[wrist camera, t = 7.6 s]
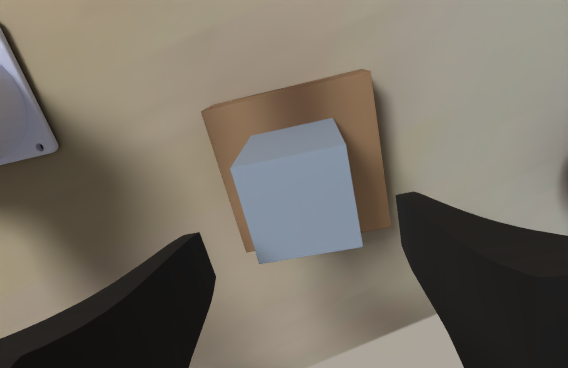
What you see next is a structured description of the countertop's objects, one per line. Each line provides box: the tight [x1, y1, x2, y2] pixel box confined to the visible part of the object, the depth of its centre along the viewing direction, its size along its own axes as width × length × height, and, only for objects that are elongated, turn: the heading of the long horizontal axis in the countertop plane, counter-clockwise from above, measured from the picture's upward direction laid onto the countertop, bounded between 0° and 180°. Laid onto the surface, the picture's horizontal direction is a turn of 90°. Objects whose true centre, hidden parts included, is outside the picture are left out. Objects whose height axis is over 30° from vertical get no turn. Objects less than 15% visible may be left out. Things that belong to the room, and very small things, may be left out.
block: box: [230, 118, 363, 264], centre depth 16 cm, size 4×4×6 cm
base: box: [201, 69, 391, 252], centre depth 19 cm, size 9×9×2 cm
